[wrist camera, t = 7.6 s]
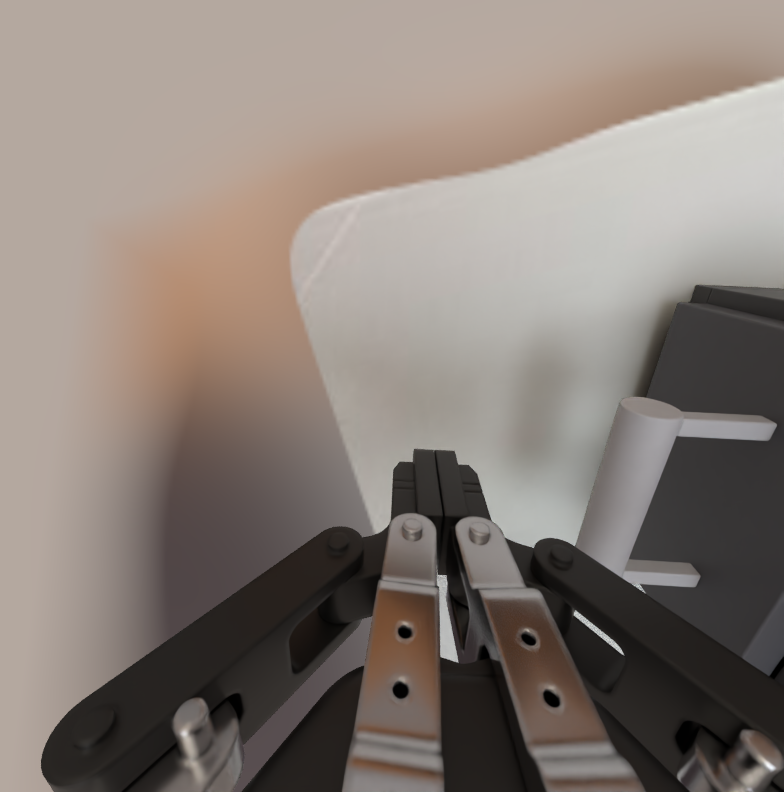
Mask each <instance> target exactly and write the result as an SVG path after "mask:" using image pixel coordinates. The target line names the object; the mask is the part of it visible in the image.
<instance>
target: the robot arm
mask: <svg viewBox="0 0 784 792" xmlns="http://www.w3.org/2000/svg"><path fill="white" fill-rule="evenodd" d="M437 571H438V575H447V582H448V585H447V593H446V601H447V606H448V611H449V616H450V621H451V626H452V631H453V636H454V641H455V646H456V651H457V656H458V662H459V663H457V662H454V661H451V660H447V659H444V658H441V657H440V611H439V587H438V586H437ZM575 610H576V611H577V612H579V613H580V614H581V615H582V616H584V617H585V618H586V619H588V620H589V621H590V622H591V623H593V624H594V625H595V626H596V627H598V628H599V629H600V630H601V631H603V632H604V633H605V634H606V635H608V636H609V637H610V638H611V639H613V640H614V641H615V642H616V643H617V644H618V645H619V647H620V648H621V649H622V651H623V653H624V655H625V656H624V655H622V654H621V653H619V652H618V651H617V650H616V649H614V648H613V647H612V646H611V645H609V644H608V643H607V642H606V641H604V640H603V639H602V638H601V637H600V636H598V635H597V634H596V633H595V632H593V631H592V630H591V629H590V628H588V627H587V626H586V625H585V624H584V623H582V622H581V621H580V620H579V619H577V618H576V617H575V616H574V612H575ZM371 616H372V622H371V628H370V634H369V640H368V646H367V653H366V659H365V665H364V666H361V667H359V668H356V669H355V670H353V671H351V672H349V673H347V674H346V675H344V676H343V677H342V678H340V679H339V680H338V681H337V682H336V683H334V685H332V686H331V687H330V688H329V689H328V690H327V691H326V692H325V693H324V695H323V696H322V697H321V698H320V699H319V700H318V702H317V703H316V704H315V705H314V706H313V708H312V709H311V710H310V711H309V712H308V714H307V715H306V716H305V717H304V718H303V720H302V721H301V722H300V723H299V724H298V725H297V727H296V728H295V729H294V730H293V731H292V732H291V734H290V735H289V736H288V737H287V738H286V740H285V741H284V742H283V743H282V744H281V746H280V747H279V748H278V749H277V750H276V752H275V753H274V754H273V755H272V756H271V757H270V759H269V760H268V761H267V762H266V763H265V765H264V766H263V767H262V768H261V769H260V770H259V772H258V773H257V774H256V775H255V777H254V778H253V779H252V780H251V781H250V783H248V785H247V786H246V787H245V788H244V789H243V791H242V792H784V686H783V685H781V684H780V683H779V682H777V681H776V680H774V679H773V678H771V677H770V676H768V675H767V674H765V673H764V672H762V671H761V670H759V669H758V668H756V667H755V666H753V665H752V664H750V663H749V662H747V661H746V660H744V659H743V658H741V657H740V656H738V655H737V654H735V653H734V652H732V651H731V650H729V649H728V648H726V647H725V646H723V645H722V644H720V643H719V642H717V641H716V640H714V639H713V638H711V637H710V636H708V635H707V634H705V633H704V632H702V631H701V630H699V629H698V628H696V627H695V626H693V625H692V624H690V623H689V622H687V621H686V620H684V619H683V618H681V617H680V616H678V615H677V614H675V613H674V612H672V611H671V610H669V609H668V608H666V607H665V606H663V605H662V604H660V603H659V602H657V601H656V600H654V599H653V598H651V597H650V596H648V595H647V594H645V593H644V592H642V591H641V590H639V589H638V588H636V587H635V586H633V585H632V584H630V583H629V582H627V581H626V580H624V579H623V578H621V577H620V576H618V575H617V574H615V573H614V572H612V571H611V570H609V569H608V568H606V567H605V566H603V565H602V564H600V563H599V562H597V561H596V560H594V559H593V558H591V557H590V556H588V555H587V554H585V553H584V552H582V551H581V550H579V549H578V548H576V547H575V546H573V545H572V544H570V543H568V542H566V541H563V540H559V539H554V538H546V539H542V540H540V541H538V542H537V543H536V545H535V547H534V548H532V547H528V546H525V545H522V544H518V543H515V542H513V541H511V540H508V539H507V538H505V537H504V535H503V532H502V531H501V529H500V528H499V527H498V526H497V525H496V524H495V523H493V522H492V521H491V518H490V515H489V511H488V508H487V505H486V502H485V498H484V495H483V493H482V489H481V485H480V482H479V479H478V476H477V473H476V472H475V471H474V470H473V469H472V468H471V467H470V466H469V465H458V463H457V458H456V454H455V451H446V450H435V451H434V450H424V449H414V452H413V462H399V463H398V464H397V466H396V467H395V468H394V470H393V489H392V510H391V521H390V524H389V525H388V527H387V528H386V529H384V530H383V531H382V532H380V533H378V534H375V535H372V536H369V537H363V538H362V537H361V535H360V534H359V533H358V532H357V531H355V530H353V529H351V528H348V527H332V528H329V529H327V530H325V531H323V532H321V533H320V534H319V535H317V536H316V537H314V538H313V539H311V540H310V541H308V542H307V543H306V544H304V545H303V546H301V547H300V548H298V549H297V550H296V551H294V552H293V553H291V554H290V555H288V556H287V557H286V558H284V559H283V560H281V561H280V562H279V563H277V564H276V565H274V566H273V567H271V568H270V569H269V570H267V571H266V572H264V573H263V574H261V575H260V576H259V577H257V578H256V579H254V580H253V581H252V582H250V583H249V584H247V585H246V586H244V587H243V588H241V589H240V590H239V591H237V592H236V593H234V594H233V595H232V596H230V597H229V598H227V599H226V600H224V601H223V602H222V603H220V604H219V605H217V606H216V607H215V608H213V609H212V610H210V611H209V612H207V613H206V614H204V615H203V616H202V617H200V618H199V619H197V620H196V621H194V622H193V623H192V624H190V625H189V626H187V627H186V628H185V629H183V630H182V631H180V632H179V633H177V634H176V635H175V636H173V637H172V638H170V639H169V640H167V641H166V642H165V643H163V644H162V645H161V646H159V647H157V648H156V649H155V650H153V651H152V652H150V653H149V654H148V655H146V656H145V657H143V658H142V659H140V660H139V661H138V662H136V663H135V664H133V665H132V666H130V667H129V668H128V669H126V670H125V671H123V672H122V673H120V674H119V675H118V676H116V677H115V678H114V679H112V680H110V681H109V682H108V683H106V684H105V685H103V686H102V687H101V688H99V689H98V690H96V691H95V692H93V693H92V694H91V695H89V696H88V697H86V698H85V699H83V700H82V701H81V702H80V703H79V704H77V705H76V706H75V707H73V708H72V709H71V710H70V711H69V712H68V713H67V714H66V715H65V716H64V718H63V719H62V720H61V721H60V722H59V724H58V725H57V726H56V727H55V729H54V731H53V732H52V733H51V735H50V737H49V739H48V741H47V743H46V745H45V748H44V751H43V754H42V759H41V769H42V773H43V775H44V777H45V778H46V780H47V782H48V783H49V785H50V786H51V788H52V790H53V791H54V792H233V790H234V788H235V786H236V785H237V783H238V780H239V778H240V775H241V772H242V769H243V764H244V746H243V745H244V744H245V743H246V742H247V741H248V740H249V739H250V738H251V737H252V736H253V735H254V734H255V733H256V732H257V730H259V729H260V728H261V726H262V725H263V724H264V723H265V722H266V721H267V720H268V719H269V718H270V717H271V716H272V715H273V714H274V713H275V712H276V711H277V710H278V709H279V708H280V707H281V706H282V705H283V704H284V702H286V701H287V700H288V699H289V698H290V697H291V696H292V694H293V693H294V692H295V691H296V690H297V689H298V688H299V687H300V686H301V685H302V684H303V683H304V682H305V681H306V680H307V679H308V678H309V677H310V676H311V675H312V674H313V673H314V672H315V671H316V670H317V669H318V668H319V667H320V665H322V664H323V662H325V660H326V659H327V658H328V657H329V656H330V655H331V654H332V653H333V652H334V651H335V650H336V649H337V648H338V647H339V646H340V645H341V644H342V643H343V642H344V641H345V640H346V639H347V638H348V637H349V636H350V635H351V634H352V633H353V632H354V630H356V628H357V627H358V626H359V624H360V623H361V620H362V619H363V618H367V617H371Z"/></svg>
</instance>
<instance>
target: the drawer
mask: <svg viewBox="0 0 784 792" xmlns="http://www.w3.org/2000/svg"><path fill="white" fill-rule="evenodd" d="M575 547H576V548H578V549H579V550H581V551H582V552H584V553H585V554H587V555H588V556H590V557H591V558H593V559H594V560H596V561H597V562H599V563H600V564H602V565H603V566H605V567H606V568H608V569H609V570H611V571H612V572H614V573H615V574H617V575H618V576H620V577H621V578H623V579H624V580H626V581H627V582H629V583H630V584H640V585H641V586H642V588H643V589H644V591H645V592H646V594H647V595H648V596H650V597H651V598H653V599H654V600H656V601H657V602H659V603H660V604H662V605H663V606H665V607H666V608H668V609H669V610H671V611H672V612H674V613H675V614H677V615H678V616H680V617H681V618H683V619H684V620H686V621H687V622H689V623H690V624H692V625H693V626H695V627H696V628H698V629H699V630H701V631H702V632H704V633H705V634H707V635H708V636H710V637H711V638H713V639H714V640H716V641H717V642H719V643H720V644H722V645H723V646H725V647H726V648H728V649H729V650H731V651H732V652H734V653H735V654H737V655H738V656H740V657H741V658H743V659H744V660H746V661H747V662H749V663H750V664H752V665H753V666H755V667H756V668H758V669H759V670H761V671H762V672H764V673H765V674H767V675H768V676H770V674H771V673H772V672H773V670H774V669H775V667H776V666H777V665H778V663H779V662H780V660H781V659H782V660H783V662H784V321H781V320H777V319H772V318H768V317H763V316H759V315H755V314H750V313H746V312H742V311H737V310H733V309H729V308H724V307H720V306H715V305H711V304H706V303H683V302H680V303H678V304H677V307H676V310H675V313H674V316H673V319H672V322H671V325H670V328H669V331H668V333H667V336H666V339H665V342H664V345H663V348H662V351H661V354H660V357H659V360H658V363H657V366H656V369H655V372H654V375H653V378H652V381H651V384H650V387H649V390H648V393H647V396H646V398H643V397H626V398H623V399H622V400H621V401H620V402H619V406H618V409H617V412H616V415H615V419H614V422H613V425H612V428H611V432H610V435H609V438H608V441H607V445H606V448H605V451H604V454H603V458H602V461H601V464H600V467H599V471H598V474H597V477H596V480H595V484H594V487H593V490H592V493H591V497H590V500H589V503H588V506H587V510H586V513H585V516H584V519H583V523H582V526H581V529H580V532H579V536H578V539H577V542H576V545H575Z"/></svg>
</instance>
